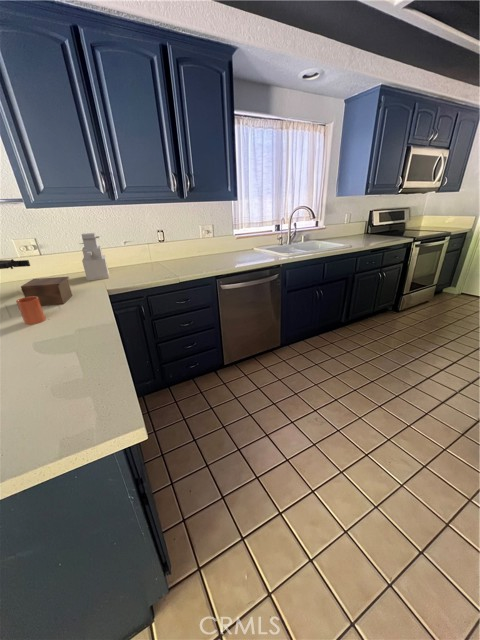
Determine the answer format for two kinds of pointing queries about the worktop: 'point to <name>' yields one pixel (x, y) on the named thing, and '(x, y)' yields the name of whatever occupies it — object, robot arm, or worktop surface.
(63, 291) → the box
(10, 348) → the worktop surface
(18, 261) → the robot arm
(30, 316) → the cup
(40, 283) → the box lid
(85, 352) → the worktop surface
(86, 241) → the blocky snowman figure
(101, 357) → the worktop surface
